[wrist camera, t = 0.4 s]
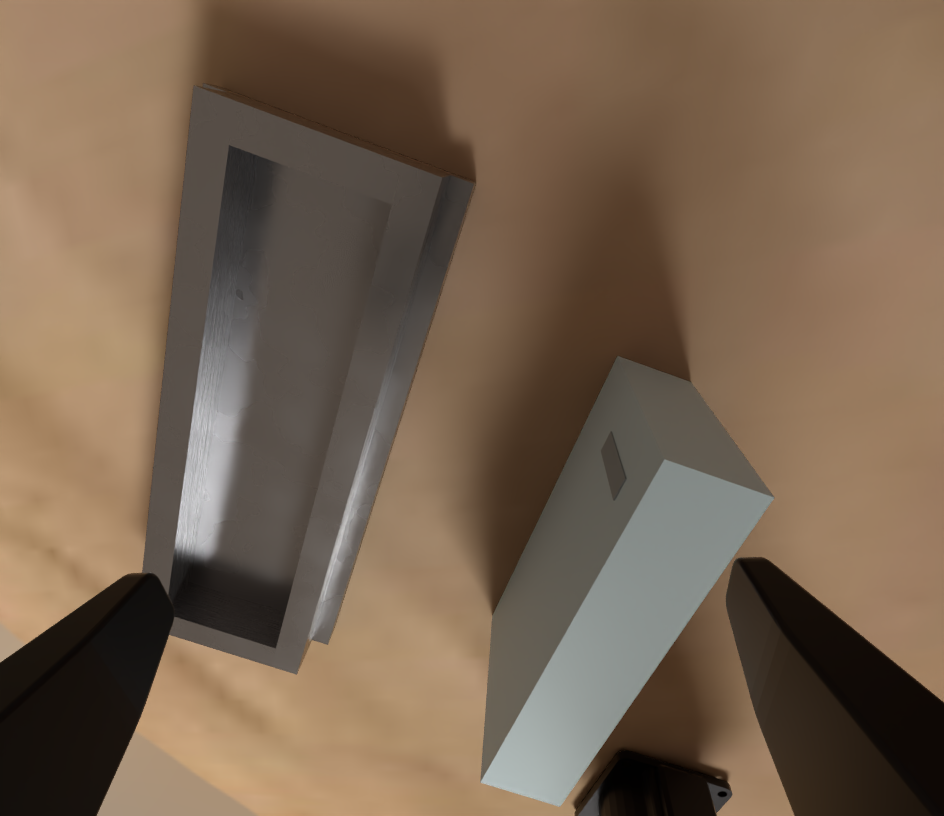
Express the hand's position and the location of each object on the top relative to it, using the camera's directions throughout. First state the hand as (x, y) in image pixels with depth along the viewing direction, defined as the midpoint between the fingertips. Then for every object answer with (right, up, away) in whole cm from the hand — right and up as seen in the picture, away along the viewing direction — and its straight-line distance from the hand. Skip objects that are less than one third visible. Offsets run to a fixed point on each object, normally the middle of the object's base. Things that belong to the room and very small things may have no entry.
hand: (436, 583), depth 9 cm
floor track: (-7, +2, +15) cm, 16 cm away
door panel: (+5, -2, +15) cm, 16 cm away
